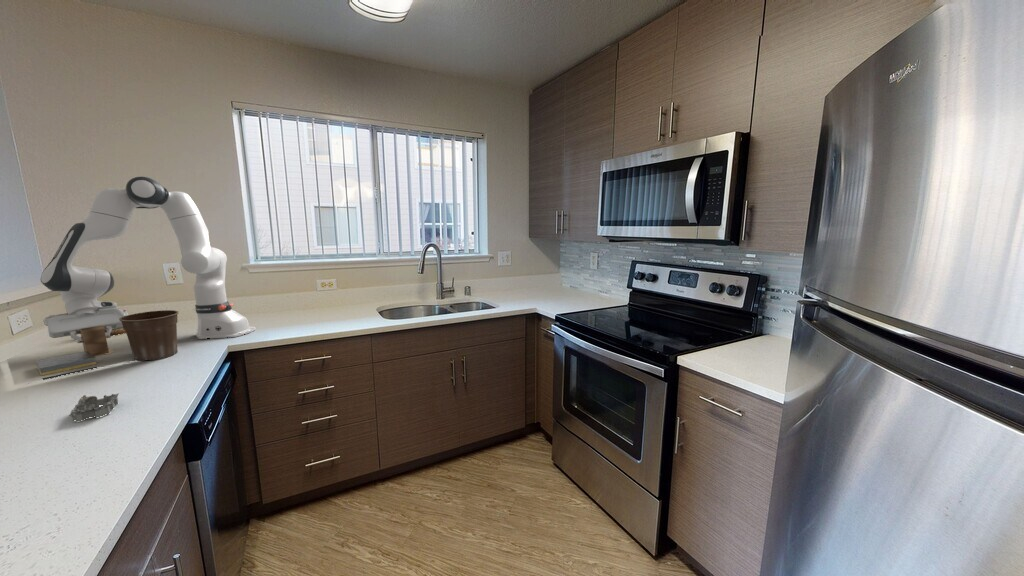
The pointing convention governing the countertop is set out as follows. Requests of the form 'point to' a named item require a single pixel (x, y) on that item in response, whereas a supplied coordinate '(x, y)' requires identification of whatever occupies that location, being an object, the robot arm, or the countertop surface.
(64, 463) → the countertop surface
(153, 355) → the plant pot
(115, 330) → the food container
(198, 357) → the countertop surface
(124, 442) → the countertop surface
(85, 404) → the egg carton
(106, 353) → the pallet
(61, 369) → the dock
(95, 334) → the crate
